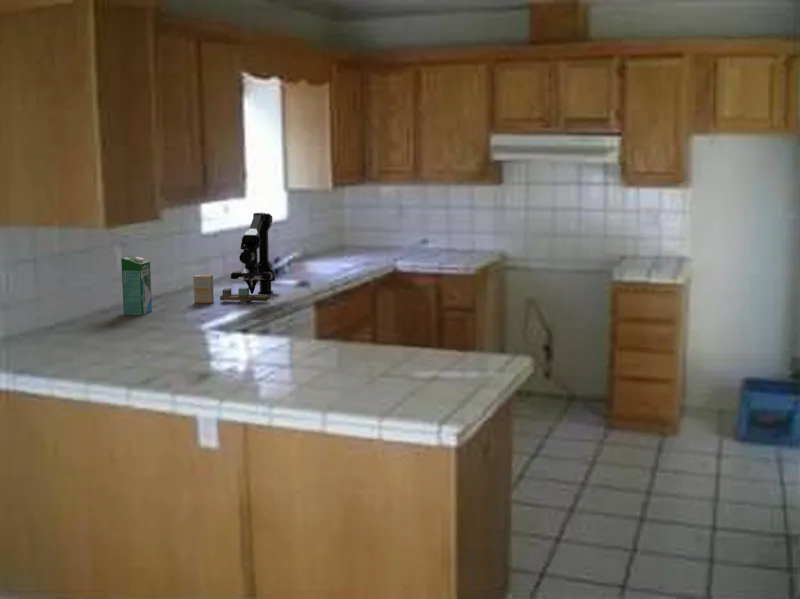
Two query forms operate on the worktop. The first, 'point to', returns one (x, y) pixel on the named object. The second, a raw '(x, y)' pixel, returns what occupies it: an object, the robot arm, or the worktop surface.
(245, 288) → the block
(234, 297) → the brown long slotted block
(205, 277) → the supplement box
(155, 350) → the worktop surface
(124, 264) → the milk carton
